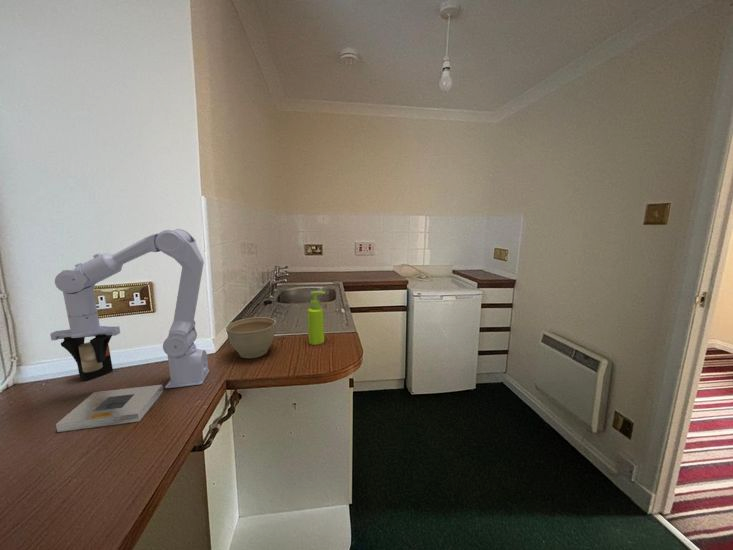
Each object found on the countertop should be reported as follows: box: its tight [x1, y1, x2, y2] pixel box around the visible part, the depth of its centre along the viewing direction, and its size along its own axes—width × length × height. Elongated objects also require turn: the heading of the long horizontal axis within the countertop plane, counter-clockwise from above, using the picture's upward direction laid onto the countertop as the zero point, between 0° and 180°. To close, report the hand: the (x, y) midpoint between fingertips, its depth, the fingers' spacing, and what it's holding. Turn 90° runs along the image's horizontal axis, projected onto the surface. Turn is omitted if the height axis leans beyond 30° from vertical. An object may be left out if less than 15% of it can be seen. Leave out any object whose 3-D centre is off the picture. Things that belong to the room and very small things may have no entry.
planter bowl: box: [225, 316, 277, 359], centre depth 105 cm, size 16×16×11 cm
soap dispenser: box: [307, 290, 326, 346], centre depth 114 cm, size 6×7×20 cm
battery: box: [76, 344, 114, 382], centre depth 91 cm, size 4×7×10 cm, turn 153°
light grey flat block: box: [55, 384, 164, 433], centre depth 74 cm, size 16×13×2 cm
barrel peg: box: [78, 341, 103, 372], centre depth 80 cm, size 4×4×7 cm
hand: (91, 362), depth 81 cm, fingers closed on barrel peg, 4 cm apart
